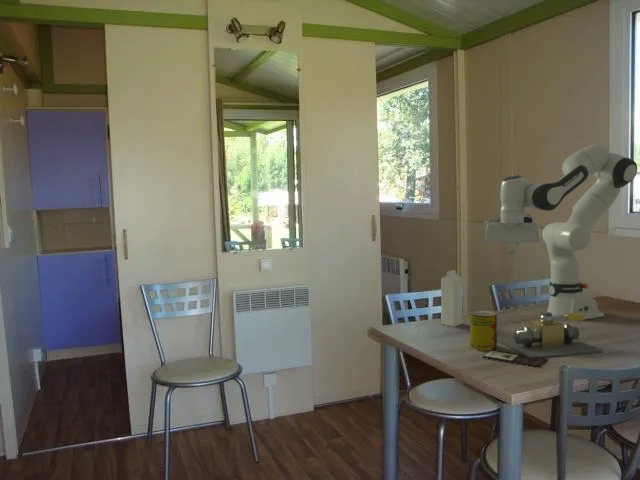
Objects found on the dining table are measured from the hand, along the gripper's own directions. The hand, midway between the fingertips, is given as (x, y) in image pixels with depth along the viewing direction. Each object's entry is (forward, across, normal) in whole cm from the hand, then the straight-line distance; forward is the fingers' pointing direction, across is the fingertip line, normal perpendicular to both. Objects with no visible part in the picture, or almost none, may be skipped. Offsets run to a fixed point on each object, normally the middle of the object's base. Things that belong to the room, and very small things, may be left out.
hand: (512, 254), depth 224 cm
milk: (+29, -23, -1) cm, 37 cm away
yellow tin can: (+29, -6, -30) cm, 42 cm away
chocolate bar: (+30, +5, -41) cm, 51 cm away
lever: (+20, +18, -19) cm, 33 cm away
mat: (+29, +14, -22) cm, 39 cm away
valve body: (+29, +14, -22) cm, 39 cm away
